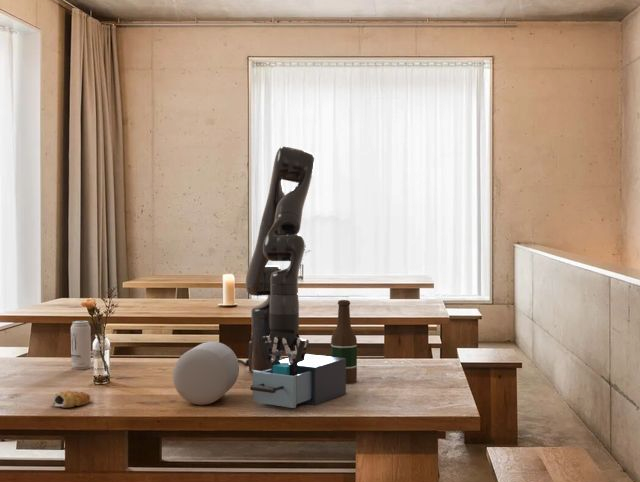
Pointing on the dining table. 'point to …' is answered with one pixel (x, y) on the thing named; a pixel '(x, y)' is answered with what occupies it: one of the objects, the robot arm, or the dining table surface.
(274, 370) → the teal cube block
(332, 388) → the cabinet
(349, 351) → the beer bottle
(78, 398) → the pastry
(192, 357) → the grey rounded piece
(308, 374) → the drawer
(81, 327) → the energy drink can
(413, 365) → the dining table surface
